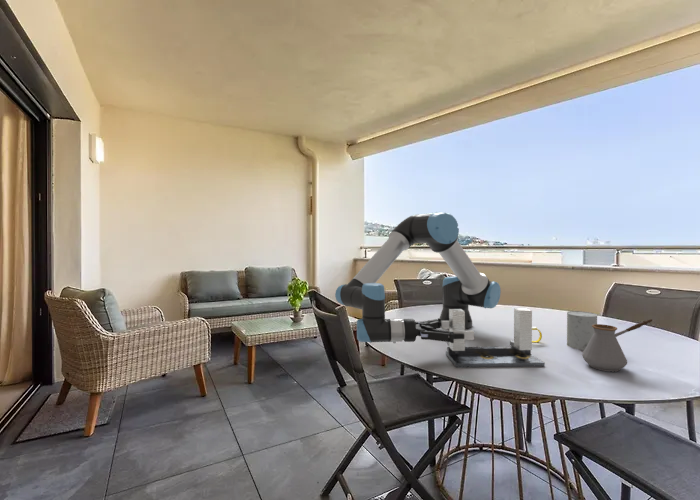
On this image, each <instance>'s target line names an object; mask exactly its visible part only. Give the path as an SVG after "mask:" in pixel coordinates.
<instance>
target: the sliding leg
mask: <svg viewBox="0 0 700 500" xmlns="http://www.w3.org/2000/svg"><path fill="white" fill-rule="evenodd" d="M448 331H449V332H453V331H466V328H465V311H463V310H462V309H449V329H448ZM465 342H466V340H454V343H451V342H446V343H447V347H450V348H451V350H452V351H455V356H459V351H465V347H466V345H465V344H466V343H465Z"/></svg>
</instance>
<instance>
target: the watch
mask: <svg viewBox="0 0 700 500" xmlns="http://www.w3.org/2000/svg"><path fill="white" fill-rule="evenodd" d="M536 330H537V332H539V333H538V334H539V336H538V339H536V340H532V344H534V343H537V344H538V343H540V342H541V341H542V338H543V334H542V332H541V330H540V329H538V327H537V326H532V331H536Z"/></svg>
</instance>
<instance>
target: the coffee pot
mask: <svg viewBox="0 0 700 500" xmlns="http://www.w3.org/2000/svg"><path fill="white" fill-rule="evenodd" d="M652 322H654V324H653V323H652ZM648 324H650V325H652V326H656V325H657V323H656V322H655V320H653V319H651V318H650V319H647V320H644V321H642V322H638V323H636V324H634V325H632V326H630V327H628V328H626V329H624V330H621V331H619V332H616V331H617V330H618V327H616V326H613V325H608V324H598V323H597V324H594V325H592V327H593V328H594V331H595V332H594V334H593V336H592V338H591V339H590V341H589V343H588V345H587V347H586V348H585V350H583V351H582V358H583V360H584V362H585V363H586V364H588V366H590V367H591V368H593V369H595V370H599V371H604V372H610V371H612V372H613V373H614V371H615V372H619V371H620V370H621V369H624V368H625V367H626V366H627V365H628V359H627V357H626V356H625V353H624V351H623V350H622V347H621V345H620V343H619V341H618V339H617V337H619V336H622V335H623V334H626V333H629V332H631V331H634V330H636V329H640V328H642V327H644V326H645V325H646V326H647V325H648ZM612 372H611V373H612Z"/></svg>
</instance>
